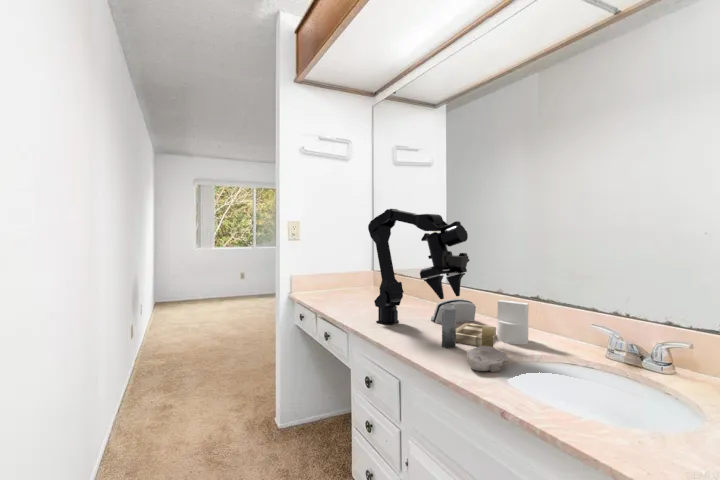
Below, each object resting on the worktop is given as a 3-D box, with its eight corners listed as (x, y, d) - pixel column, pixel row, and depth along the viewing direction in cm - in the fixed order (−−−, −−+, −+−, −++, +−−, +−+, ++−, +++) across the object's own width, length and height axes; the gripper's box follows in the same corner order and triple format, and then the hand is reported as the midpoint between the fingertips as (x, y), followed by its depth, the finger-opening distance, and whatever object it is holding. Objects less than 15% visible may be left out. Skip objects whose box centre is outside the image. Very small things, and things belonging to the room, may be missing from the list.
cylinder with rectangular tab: (532, 339, 115) (532, 302, 115) (522, 346, 108) (522, 306, 108) (503, 334, 121) (503, 298, 121) (492, 340, 114) (493, 302, 114)
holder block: (449, 340, 113) (449, 332, 113) (466, 329, 127) (466, 322, 127) (481, 346, 108) (481, 338, 108) (495, 334, 121) (495, 326, 121)
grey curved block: (467, 317, 145) (472, 295, 142) (474, 324, 141) (479, 301, 137) (429, 320, 140) (434, 297, 137) (435, 327, 136) (439, 304, 133)
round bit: (439, 346, 107) (440, 304, 107) (444, 343, 111) (445, 302, 110) (452, 349, 105) (453, 306, 105) (457, 345, 108) (457, 304, 108)
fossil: (516, 359, 88) (487, 348, 85) (507, 384, 88) (477, 374, 84) (491, 345, 96) (464, 335, 93) (482, 369, 96) (454, 359, 92)
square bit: (481, 353, 101) (481, 328, 101) (482, 350, 104) (482, 326, 104) (493, 354, 100) (493, 329, 100) (493, 351, 103) (493, 326, 103)
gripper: (442, 243, 107) (455, 295, 104) (474, 243, 120) (487, 290, 117) (413, 253, 115) (425, 302, 112) (446, 252, 128) (457, 296, 124)
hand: (450, 297), depth 116 cm, fingers open, 9 cm apart
